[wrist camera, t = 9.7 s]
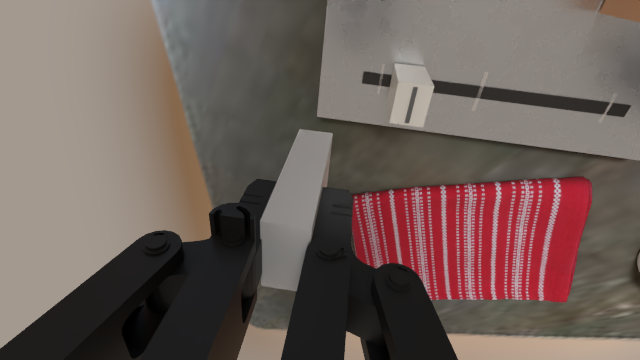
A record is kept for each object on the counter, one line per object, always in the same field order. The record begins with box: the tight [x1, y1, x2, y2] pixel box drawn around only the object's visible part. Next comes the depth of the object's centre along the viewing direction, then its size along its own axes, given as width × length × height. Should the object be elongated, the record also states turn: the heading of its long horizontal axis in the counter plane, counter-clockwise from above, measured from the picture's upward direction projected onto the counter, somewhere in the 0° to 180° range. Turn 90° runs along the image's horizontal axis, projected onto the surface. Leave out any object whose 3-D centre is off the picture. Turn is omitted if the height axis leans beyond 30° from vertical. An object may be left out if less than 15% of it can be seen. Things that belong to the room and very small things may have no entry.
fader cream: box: [387, 63, 434, 127], centre depth 26 cm, size 3×2×5 cm
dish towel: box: [352, 177, 592, 302], centre depth 39 cm, size 17×24×3 cm
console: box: [317, 0, 640, 160], centre depth 27 cm, size 16×28×2 cm, turn 85°
